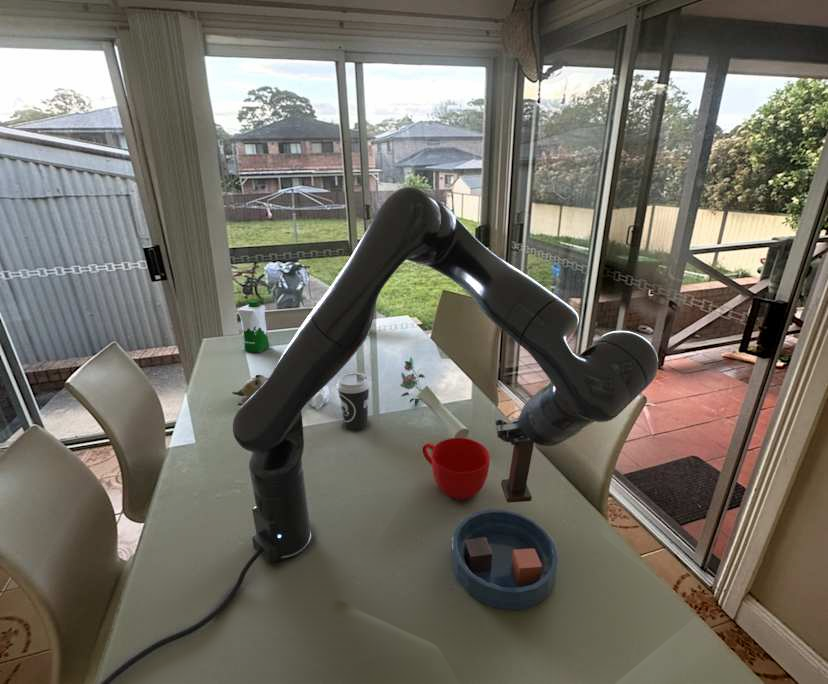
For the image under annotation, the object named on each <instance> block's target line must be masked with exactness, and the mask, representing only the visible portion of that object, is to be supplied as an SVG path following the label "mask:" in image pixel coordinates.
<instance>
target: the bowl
mask: <svg viewBox="0 0 828 684" xmlns="http://www.w3.org/2000/svg"><path fill="white" fill-rule="evenodd" d="M482 537H486V539H487V542H488V544H489V547H490V549H491V552H492V565H491V571H484V572H477V573H472V572H471V571H470V570H469V568H468V566H467V563H466V559H465V556H464V552H465V540H467V539H475V538H482ZM451 547H452V549H451V567H452V570H453V572H454V575H455V578H456V581H457V582H458V583H459V584H460V585H461V587H462V588H463V589H464V590H465V592H466V593H467V594H468V595H470V597H471V596H472V597H473V598H474V599H475V600H477V601H479V602H480V603H481V604H482V605H483V604H484V605H487V606H489V607H492V608H495V609H498V610H502V611H503V610H505V611H521V610H526V609H530V608H533V607H536V606H537V605H538V604H540V603H541V602H543V601H545V600H546V599H547V598H548V597H549V595H550V593H551V592H552V590H553V588H554V587H555V581H556V575H557V568H558V562H559V561H558V560H559V554H558V551H557V550H558V549H557V546H556V544H555V541H554V540H553V538H552V537H551V536H550V534H549V533H548V531H547V530H546V529H545V528H543V527H542V526H541V525H540V524H539V523H538V522H537V521H535V520H533V519H532V518H529V517H528V516H526V515H524V514H522V513H520V512H515V511H512V510H508V509H495V508H494V509H493V508H491V509H483V510H480V511H477V512H474V513H472V514H470V515H467V516H466V517H465V518H464V519H463V520H462V521H461V522H460V523H459V524H458V525H457V526H456V528H455V531H454V533H453V535H452V545H451ZM532 548H535V551H536V553H537V555H538V558H539V560H540V562H541V565H542V573H541V576H540V578H539V579H538V581H537V582H535V583H534V584H527V585H518V584H517V581H516V578H515V575H514V572H513V569H512V556H513V550H519V549H532Z"/></svg>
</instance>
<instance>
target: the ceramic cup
mask: <svg viewBox="0 0 828 684" xmlns="http://www.w3.org/2000/svg"><path fill="white" fill-rule="evenodd" d="M428 449H430V450H431V455H430V454H429V451H428ZM422 454H423V457H424V459H425V460H426V461H427V462H428V463H429V465H431V470H432V474H433V477H434V480H435V483H436V485H437V486H438V488H439V490H441V492H443V494H444V495H446V496H448V498H451V499H453V500H460V501H462V500H463V501H464V500H467V499H470V498H472V497H473V496H475V495H477V494H478V493H479V492H480V490H481V489H482V488H483V487H484V485H485V483H486V481H487V477H488V474H489V469H490V461H491V456H490V452H489V451H488V449H487V448H486V447H485V446H484V445H483V444H481V443H480V442H478V441H476V440H474V439H470V438H452V437H451V438H447V439H444V440H441V441H439V442H437V443H436V444H435V445H434V444H432V443H430V442H427V443H425V444H423V446H422Z"/></svg>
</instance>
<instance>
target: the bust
mask: <svg viewBox="0 0 828 684" xmlns="http://www.w3.org/2000/svg"><path fill="white" fill-rule="evenodd" d="M329 398H330V388H329V387H328V386H327V384H326V385H325V386H324V387H323V388H322V389H321V390H320V391H319V392H318V393H317V394H316V395H315V396H314V397H313V398H312V399H311V400H310V401H309V402H308V404H309V405H310V406H311V407H312V408H315V409H321V407H322V406H324V405H326V404H327V403H328V402H329V400H330V399H329Z"/></svg>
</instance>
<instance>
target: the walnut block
mask: <svg viewBox="0 0 828 684" xmlns="http://www.w3.org/2000/svg"><path fill="white" fill-rule="evenodd" d="M464 556H465V559H466V563H467V566H468V568H469V570H470V571H471V572H472V573H477V572H484V571H491V565H492V552H491V549H490V547H489V544H488V542H487V539H486V537H482V538H475V539H467V540H465V552H464Z"/></svg>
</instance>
